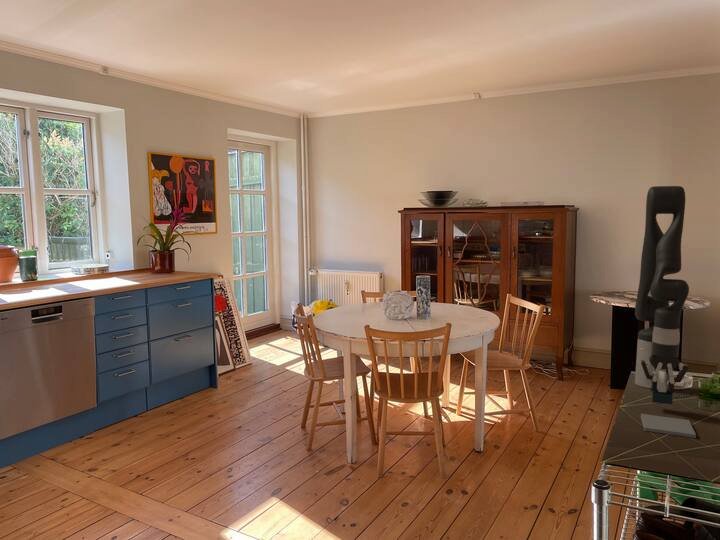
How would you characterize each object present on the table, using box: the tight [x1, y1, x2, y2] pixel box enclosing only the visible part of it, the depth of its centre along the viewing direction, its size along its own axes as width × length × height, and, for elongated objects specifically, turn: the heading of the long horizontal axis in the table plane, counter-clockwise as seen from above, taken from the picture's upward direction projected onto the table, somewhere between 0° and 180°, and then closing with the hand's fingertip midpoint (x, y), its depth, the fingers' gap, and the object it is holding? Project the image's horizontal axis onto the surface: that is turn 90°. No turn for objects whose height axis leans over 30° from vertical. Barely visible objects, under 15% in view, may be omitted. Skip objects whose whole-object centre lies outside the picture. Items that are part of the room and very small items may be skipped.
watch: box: [652, 369, 674, 405], centre depth 175 cm, size 6×8×11 cm
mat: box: [640, 413, 697, 439], centre depth 162 cm, size 12×13×1 cm
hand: (661, 392), depth 175 cm, fingers closed on watch, 3 cm apart
